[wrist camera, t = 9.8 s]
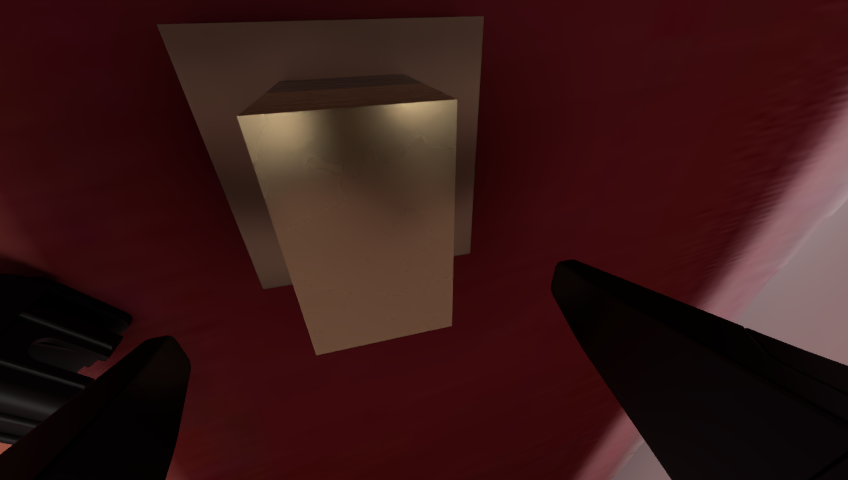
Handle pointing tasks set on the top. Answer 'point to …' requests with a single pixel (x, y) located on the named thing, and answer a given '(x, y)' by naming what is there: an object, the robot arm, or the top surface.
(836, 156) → the top surface
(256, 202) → the walnut stand
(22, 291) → the end cap
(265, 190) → the block
